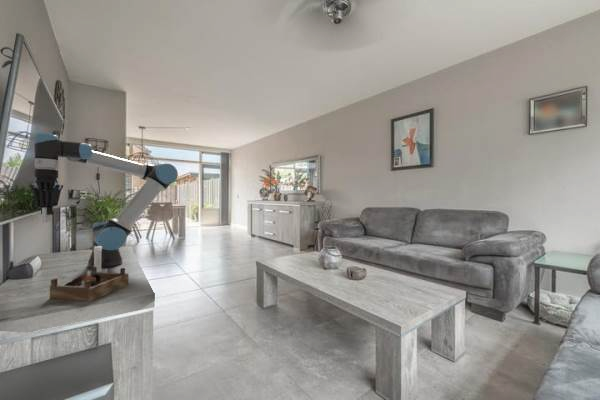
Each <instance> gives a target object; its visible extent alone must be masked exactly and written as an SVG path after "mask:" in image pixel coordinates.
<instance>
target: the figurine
mask: <svg viewBox="0 0 600 400" xmlns="http://www.w3.org/2000/svg"><path fill="white" fill-rule="evenodd" d="M101 252H102V246H95V247H94V267H97V269H96V272H101V273H109V271H108V268H101ZM90 274H91V270H87V271H86V275H87V276H90Z"/></svg>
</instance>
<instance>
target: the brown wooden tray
mask: <svg viewBox="0 0 600 400" xmlns="http://www.w3.org/2000/svg"><path fill="white" fill-rule="evenodd" d="M96 269H97V267H92V268H91V270H90V271H91V274H90V276H91V275H93V274H95V273H97V274H99V275H100V276H101V280H100V282H99V283H98V284H97V285H95V286H93V287H91V280H87V281H84V285H83V286H82V285H81V286H64V285H65V284H64V285H62V284H61V285H60V284H58V278H51V279H50V285H49V299H52V300H68V301H70V300H71V301H86V302H92V301H95V300H97V299H100V298H102V297H103V296H106V295H108V294H110V293H113V292H115V291H117V290H120V289H122V288H124V287H126V286H128V285H129V273H126V267H121V268H119V269H120V270H119V273H118V272H108V273H101V272H96ZM94 279H95V281H96V277H94ZM121 287H122V288H121Z"/></svg>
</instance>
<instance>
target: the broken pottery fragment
mask: <svg viewBox="0 0 600 400" xmlns="http://www.w3.org/2000/svg"><path fill="white" fill-rule="evenodd" d="M94 277H96V281H95V279H94ZM87 280H91V287H93V286H95V285H98V283H99V282H100V280H101V276H100V275H99V274H97V273H95V274H93V275H91V276H87V272H86V273H83V274H81V275H79V276H77V277H76V278H74V279H72V281H68V282H67V283H65V284H64V286H82V285H83V284H82V282H83V281H84V282H85V281H87Z"/></svg>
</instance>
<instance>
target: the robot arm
mask: <svg viewBox="0 0 600 400" xmlns="http://www.w3.org/2000/svg"><path fill="white" fill-rule="evenodd" d="M59 158H66V159H67V160H68V161H70V162H74V163H76V162H77V163H81V164H86V165H89V166H94V167H98V168H102V169H106V170H111V171H114V172H119V173H122V174H127V175H130V176H135V177H138V178H139V179H140V180H143V181H146V182H145V183H144V184H143V185H142V186H141V187H140V189H139V190H138V191H137V192H136V193H135V194H134V196H133V197H131V199H130V200H129V202H127V203H126V205H125V206H124V207H123V208H122V209H121V211H120V212H119V213H118V214H117V215H116V217H114V218H109V219H108V220H107V221H105V222H95V223H93V225H92V229H91V230H92V239H91V240H92V245H91V246H92V247H91V254H90V256H89V258H88V259H89V260H88V261H87V267H88V268H92V267H94V247H95V246H102V252H101V269H105V268H109V267H117V266H119V265H122V263H123V257H122V256H121V252H120V248H122V247H123V246H124V245H125V243H126V242H127V239H128V237H129V235H130V234H131V232H132V231H133V230H132V227H133V226H134V224H135V223H136V222H137V220H138V219H140V217H141V216H142V214H143V213H145V211H146V209H148V207H149V206H150V205H151V203H153V201H154V200H155V199H156V198H157V196H158V195H159V194H160V193H161V192H164V191H166V190H167V189H168V187H169V186H170V185H171V184H173V183H175V182H176V181H177V179H178V177H179V173H178V170H177V167H176V166H174V165H173V164H171V163H167V162H162V163H159V164H149V163H141V162H140V163H139V162H136V161H132V160H128V159H125V158H120V157H117V156H114V155H110V154H106V153H102V152H99V151H95V150H93V146H92V144H90V143H85V142H77V141H76V142H75V141H67V140H61V139H59V136H58V135H56V134H51V133H45V132H42V133H41V132H39V133H35V136H34V168H35V169H34V177H35V178H36V180H35V183H33V184H30V185H29V187H30V188H31V190H32V194H33V199H34V202H35V205H36V207H39V208H40V215H41V223H52V215H53V211H54V210H53V209H54V207H58V204H59V201H60V196H61V193H62V192H61V191H62V189H64V185H63V184H60V183H59V181H58V180H57V179H58V178H59Z"/></svg>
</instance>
